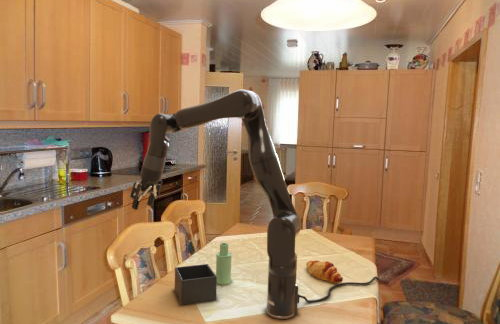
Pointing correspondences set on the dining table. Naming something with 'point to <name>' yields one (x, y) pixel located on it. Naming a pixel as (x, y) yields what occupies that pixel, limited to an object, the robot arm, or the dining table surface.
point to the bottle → (223, 265)
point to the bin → (195, 284)
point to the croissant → (324, 271)
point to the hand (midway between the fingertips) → (142, 207)
